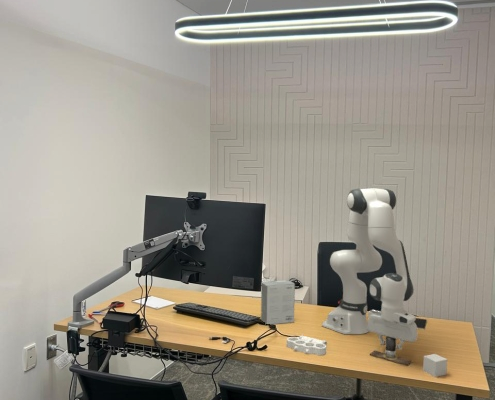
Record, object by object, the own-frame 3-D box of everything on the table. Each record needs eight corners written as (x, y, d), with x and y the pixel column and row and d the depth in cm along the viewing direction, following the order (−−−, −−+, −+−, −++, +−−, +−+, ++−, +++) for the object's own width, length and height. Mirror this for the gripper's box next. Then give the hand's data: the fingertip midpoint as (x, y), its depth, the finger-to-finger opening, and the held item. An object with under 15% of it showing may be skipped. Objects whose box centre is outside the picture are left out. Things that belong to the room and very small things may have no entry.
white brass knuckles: (333, 348, 206) (319, 359, 194) (296, 339, 216) (281, 349, 203) (334, 340, 206) (320, 351, 194) (296, 332, 216) (281, 341, 203)
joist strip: (369, 355, 198) (369, 353, 198) (375, 351, 202) (375, 349, 202) (406, 366, 188) (406, 364, 188) (412, 361, 192) (412, 360, 192)
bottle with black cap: (383, 356, 195) (384, 337, 194) (387, 353, 198) (388, 335, 197) (393, 359, 192) (393, 340, 192) (396, 356, 195) (397, 337, 195)
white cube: (422, 371, 184) (423, 356, 183) (433, 368, 187) (434, 353, 186) (435, 377, 178) (436, 361, 178) (446, 374, 181) (447, 359, 181)
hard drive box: (288, 318, 245) (289, 280, 244) (294, 322, 238) (295, 283, 237) (260, 320, 240) (261, 281, 239) (265, 325, 233) (266, 285, 232)
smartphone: (407, 325, 235) (410, 317, 249) (407, 328, 236) (410, 319, 249) (424, 328, 232) (427, 319, 246) (424, 330, 232) (426, 321, 246)
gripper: (365, 310, 198) (364, 342, 199) (413, 321, 185) (412, 355, 186) (371, 307, 203) (370, 338, 204) (419, 317, 190) (418, 351, 191)
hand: (390, 346), depth 195 cm, fingers open, 5 cm apart
